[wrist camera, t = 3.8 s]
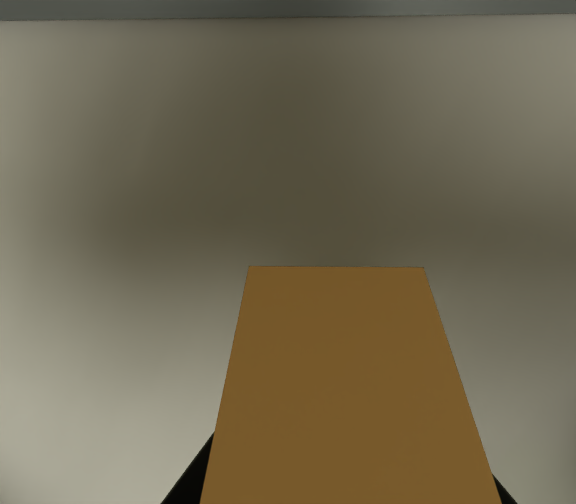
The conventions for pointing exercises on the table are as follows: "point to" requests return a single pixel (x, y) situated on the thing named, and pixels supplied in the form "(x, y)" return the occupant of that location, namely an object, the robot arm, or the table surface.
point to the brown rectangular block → (343, 395)
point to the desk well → (268, 8)
